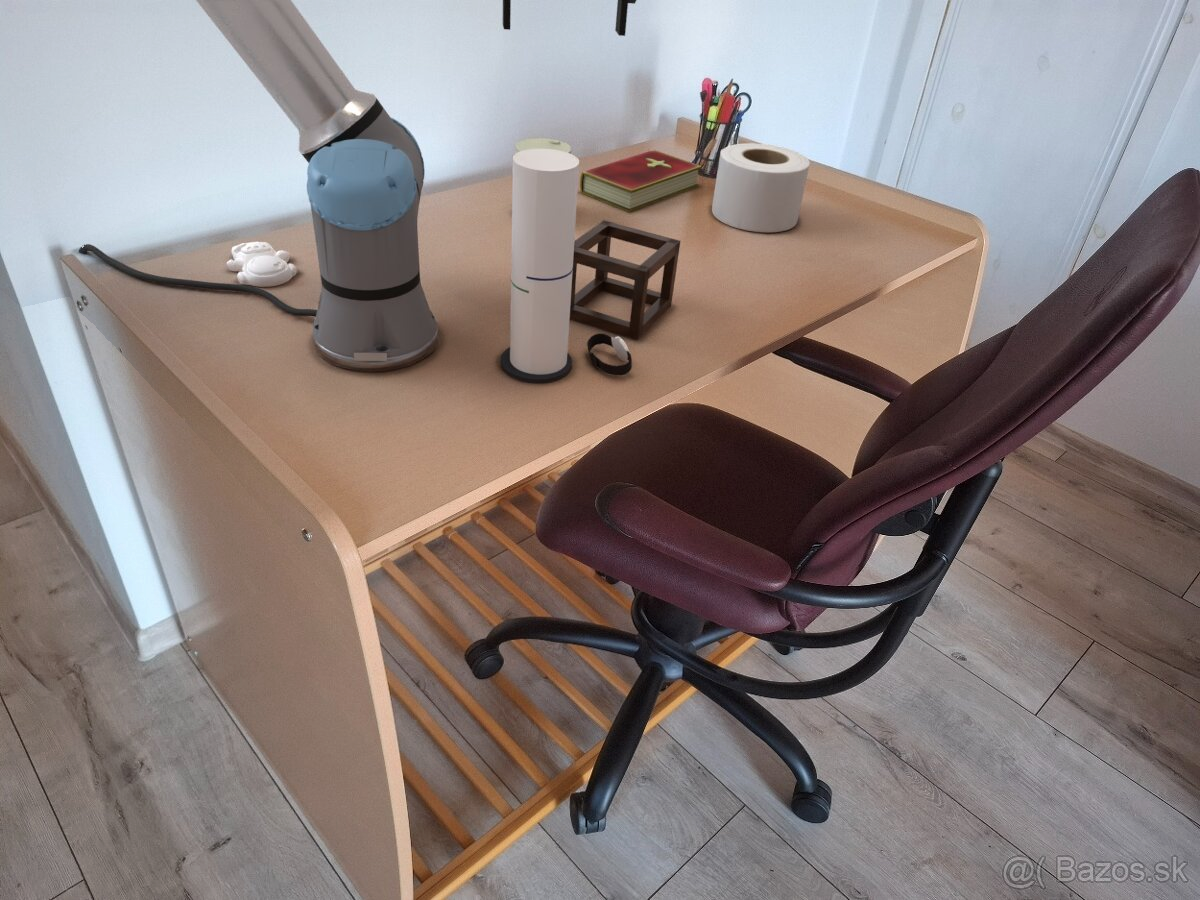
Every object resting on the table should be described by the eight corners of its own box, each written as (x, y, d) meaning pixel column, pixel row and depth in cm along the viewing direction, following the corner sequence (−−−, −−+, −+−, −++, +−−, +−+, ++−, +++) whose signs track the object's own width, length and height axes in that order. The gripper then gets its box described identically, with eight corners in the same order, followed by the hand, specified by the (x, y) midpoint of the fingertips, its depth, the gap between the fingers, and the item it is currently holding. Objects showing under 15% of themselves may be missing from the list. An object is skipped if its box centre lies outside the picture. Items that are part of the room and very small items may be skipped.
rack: (560, 316, 115) (563, 248, 109) (598, 284, 124) (603, 219, 118) (637, 340, 112) (645, 271, 105) (671, 306, 120) (680, 240, 114)
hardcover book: (579, 192, 153) (580, 169, 151) (650, 169, 166) (652, 147, 164) (629, 212, 147) (631, 189, 145) (698, 186, 160) (702, 164, 158)
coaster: (486, 369, 103) (486, 364, 103) (523, 338, 110) (523, 334, 109) (549, 391, 100) (550, 387, 100) (584, 358, 107) (584, 354, 106)
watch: (640, 374, 105) (643, 349, 103) (609, 383, 103) (612, 357, 100) (607, 345, 110) (609, 321, 108) (577, 353, 108) (578, 328, 105)
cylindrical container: (559, 378, 101) (570, 175, 86) (502, 368, 102) (504, 165, 87) (572, 350, 107) (585, 154, 92) (519, 340, 108) (523, 145, 93)
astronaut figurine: (285, 248, 125) (282, 229, 123) (301, 282, 117) (298, 262, 115) (222, 255, 122) (218, 236, 120) (235, 291, 113) (231, 271, 112)
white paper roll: (694, 213, 149) (703, 152, 143) (741, 193, 159) (752, 136, 153) (768, 241, 142) (781, 178, 135) (812, 218, 152) (827, 159, 145)
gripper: (683, -185, 91) (659, 28, 104) (451, -208, 87) (457, 17, 100) (699, -183, 85) (672, 42, 98) (452, -208, 81) (457, 31, 94)
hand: (563, 30), depth 99 cm, fingers open, 13 cm apart
